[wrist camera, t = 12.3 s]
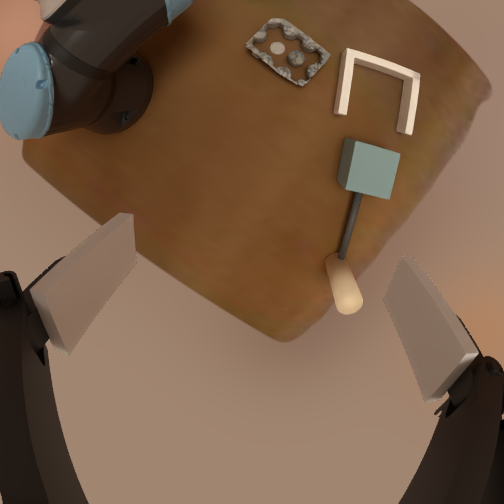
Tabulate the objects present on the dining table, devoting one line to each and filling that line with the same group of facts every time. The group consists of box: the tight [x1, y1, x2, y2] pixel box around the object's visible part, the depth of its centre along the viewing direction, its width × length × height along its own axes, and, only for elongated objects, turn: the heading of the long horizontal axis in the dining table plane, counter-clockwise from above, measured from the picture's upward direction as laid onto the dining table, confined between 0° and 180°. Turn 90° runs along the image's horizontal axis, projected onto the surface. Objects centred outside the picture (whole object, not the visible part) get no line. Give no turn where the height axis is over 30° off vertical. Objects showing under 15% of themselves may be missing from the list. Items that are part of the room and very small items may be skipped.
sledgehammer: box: [325, 138, 400, 314], centre depth 38 cm, size 7×24×12 cm, turn 172°
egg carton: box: [245, 18, 330, 87], centre depth 31 cm, size 11×8×4 cm
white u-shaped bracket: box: [333, 48, 420, 135], centre depth 32 cm, size 12×10×4 cm
